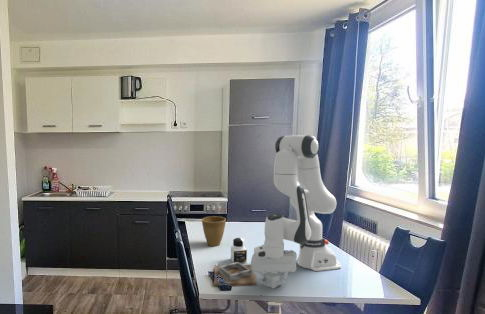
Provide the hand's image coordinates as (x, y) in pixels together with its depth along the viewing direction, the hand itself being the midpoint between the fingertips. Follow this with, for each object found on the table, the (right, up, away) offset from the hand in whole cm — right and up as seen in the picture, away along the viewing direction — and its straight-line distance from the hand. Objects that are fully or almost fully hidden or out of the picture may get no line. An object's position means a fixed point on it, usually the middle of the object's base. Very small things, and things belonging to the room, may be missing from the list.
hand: (273, 280), depth 130 cm
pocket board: (-17, -1, +8) cm, 19 cm away
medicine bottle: (-16, -1, +26) cm, 30 cm away
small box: (0, -2, 0) cm, 2 cm away
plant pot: (-32, +1, +51) cm, 60 cm away
